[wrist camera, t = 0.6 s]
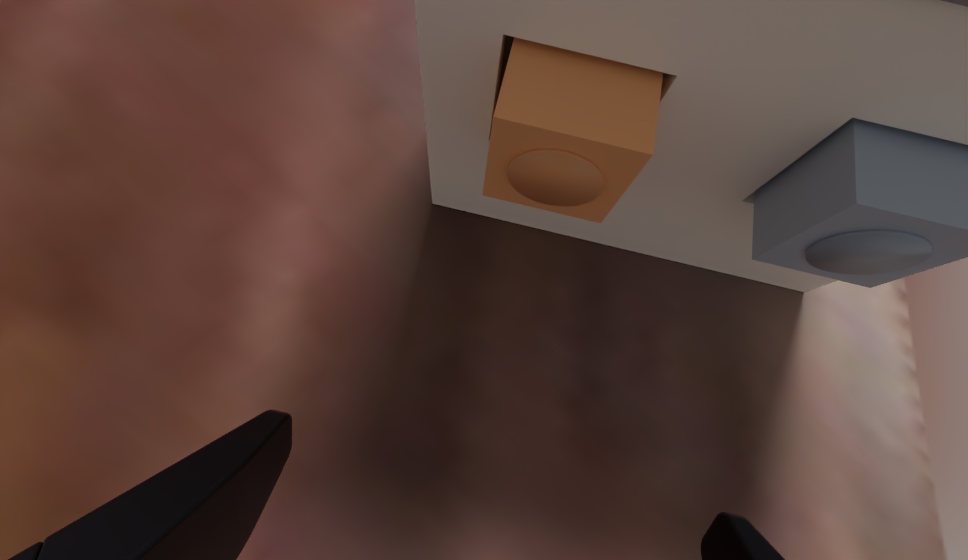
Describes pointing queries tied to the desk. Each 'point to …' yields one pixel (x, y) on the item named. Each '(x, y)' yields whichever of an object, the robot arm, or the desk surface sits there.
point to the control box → (698, 103)
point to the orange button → (570, 130)
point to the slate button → (866, 206)
